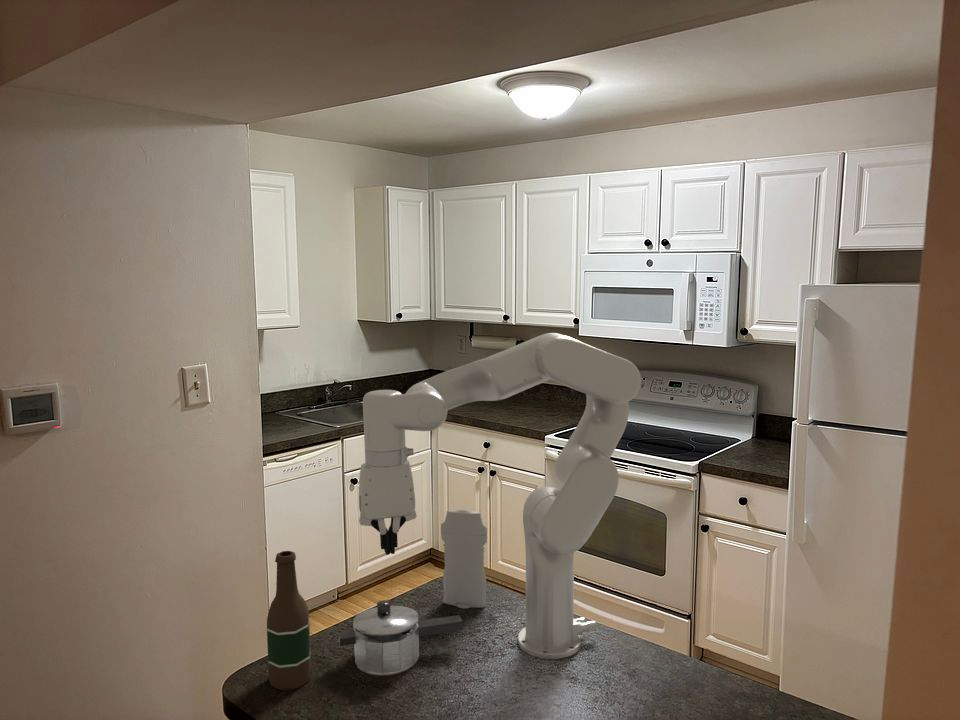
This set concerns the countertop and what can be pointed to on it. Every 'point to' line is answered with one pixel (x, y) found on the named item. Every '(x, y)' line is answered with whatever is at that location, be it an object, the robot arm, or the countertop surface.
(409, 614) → the lid
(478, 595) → the tall pale column
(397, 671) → the pot
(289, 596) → the beer bottle
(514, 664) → the countertop surface
